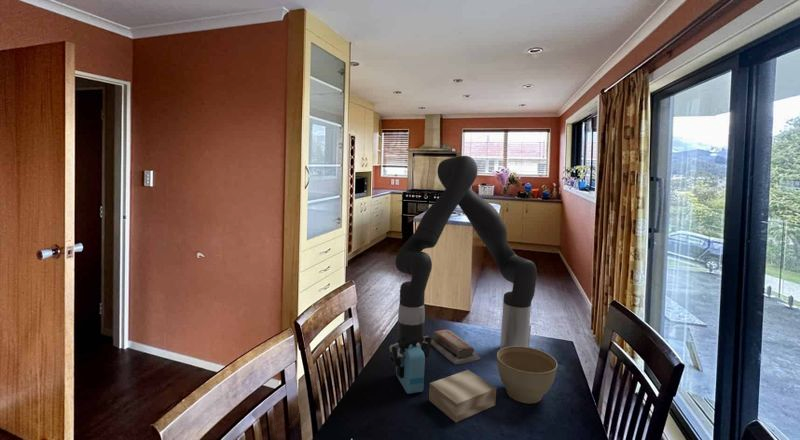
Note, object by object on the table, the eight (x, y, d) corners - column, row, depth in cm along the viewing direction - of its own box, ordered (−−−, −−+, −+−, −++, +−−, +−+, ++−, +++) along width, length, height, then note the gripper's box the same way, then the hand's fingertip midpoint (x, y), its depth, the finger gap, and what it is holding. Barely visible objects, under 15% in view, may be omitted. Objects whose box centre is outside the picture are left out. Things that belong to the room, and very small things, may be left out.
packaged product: (428, 330, 143) (451, 326, 147) (427, 343, 144) (451, 339, 148) (456, 352, 127) (481, 347, 131) (455, 366, 128) (480, 360, 132)
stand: (466, 385, 116) (467, 369, 115) (495, 405, 107) (496, 387, 106) (428, 400, 108) (429, 383, 107) (455, 422, 99) (456, 403, 98)
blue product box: (423, 394, 111) (425, 353, 109) (408, 396, 110) (409, 355, 108) (409, 372, 122) (410, 335, 121) (395, 374, 121) (396, 337, 119)
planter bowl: (563, 395, 112) (567, 359, 111) (537, 420, 101) (540, 380, 100) (512, 373, 124) (514, 340, 122) (483, 393, 112) (485, 357, 111)
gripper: (423, 310, 120) (421, 362, 122) (382, 319, 112) (381, 375, 115) (439, 318, 114) (436, 373, 116) (397, 328, 106) (395, 387, 108)
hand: (409, 374), depth 115 cm, fingers closed on blue product box, 5 cm apart
